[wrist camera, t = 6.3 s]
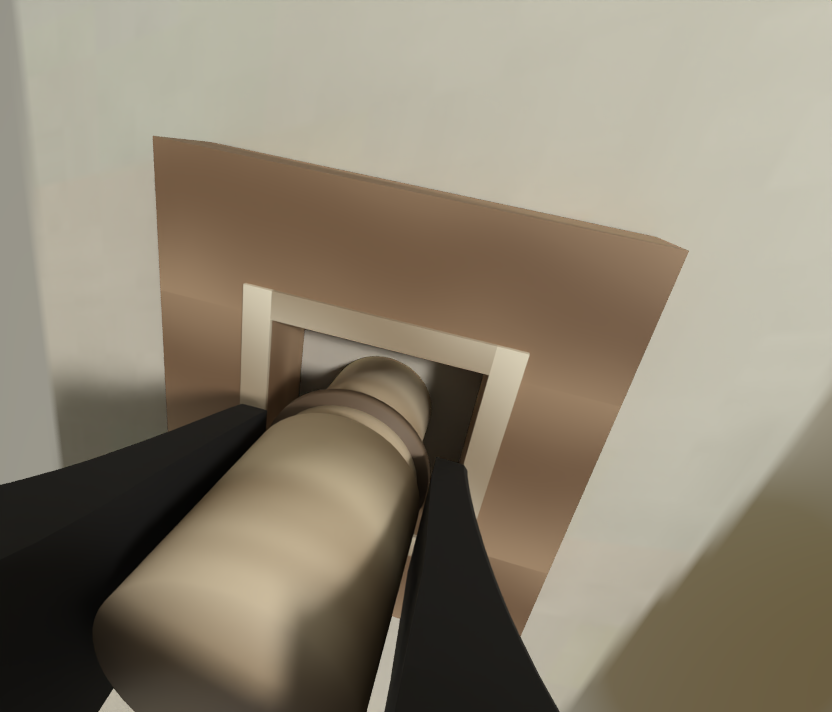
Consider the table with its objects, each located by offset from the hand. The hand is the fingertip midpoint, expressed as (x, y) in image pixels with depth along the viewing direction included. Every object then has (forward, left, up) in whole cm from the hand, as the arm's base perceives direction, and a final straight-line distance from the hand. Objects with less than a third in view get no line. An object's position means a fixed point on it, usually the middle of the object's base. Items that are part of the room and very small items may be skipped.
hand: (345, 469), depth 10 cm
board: (0, 0, -3) cm, 3 cm away
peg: (0, 0, -3) cm, 3 cm away
